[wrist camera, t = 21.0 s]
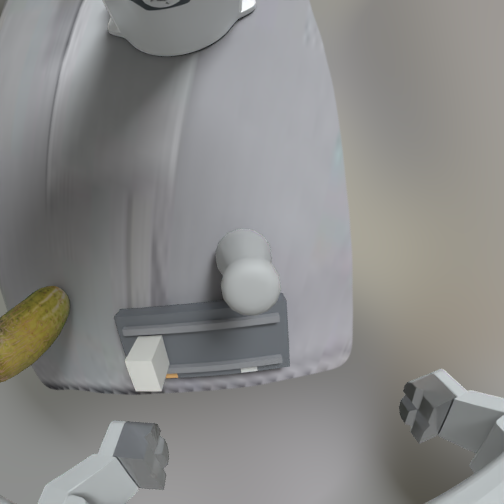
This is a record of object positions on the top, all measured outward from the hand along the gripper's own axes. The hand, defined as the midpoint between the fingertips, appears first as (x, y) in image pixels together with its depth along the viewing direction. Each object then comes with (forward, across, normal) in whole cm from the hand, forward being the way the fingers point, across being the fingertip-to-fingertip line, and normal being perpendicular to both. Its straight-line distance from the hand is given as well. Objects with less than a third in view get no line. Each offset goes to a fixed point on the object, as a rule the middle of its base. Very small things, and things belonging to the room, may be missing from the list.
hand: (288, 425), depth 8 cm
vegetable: (+25, +25, +4) cm, 36 cm away
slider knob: (+22, +12, +10) cm, 27 cm away
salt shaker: (+25, 0, 0) cm, 25 cm away
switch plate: (+25, +6, +10) cm, 28 cm away
